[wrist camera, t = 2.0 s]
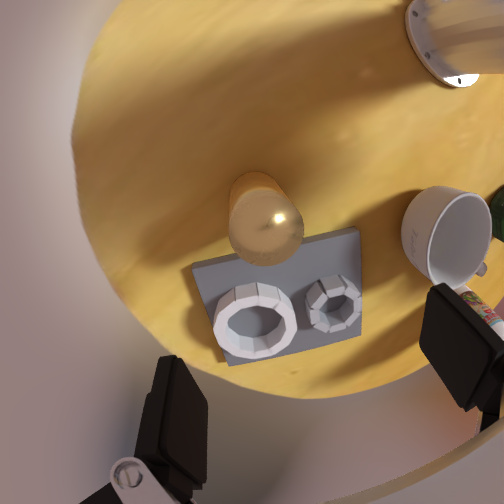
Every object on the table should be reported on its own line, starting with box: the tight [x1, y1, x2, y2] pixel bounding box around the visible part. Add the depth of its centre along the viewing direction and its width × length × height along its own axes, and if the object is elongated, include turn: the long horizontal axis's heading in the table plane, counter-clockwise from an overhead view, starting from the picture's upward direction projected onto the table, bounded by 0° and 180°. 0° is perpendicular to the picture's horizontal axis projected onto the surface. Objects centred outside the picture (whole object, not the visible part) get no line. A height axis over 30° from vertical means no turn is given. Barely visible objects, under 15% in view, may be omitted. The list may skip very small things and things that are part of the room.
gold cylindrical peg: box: [229, 172, 304, 266], centre depth 23 cm, size 5×5×10 cm
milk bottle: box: [454, 284, 504, 341], centre depth 27 cm, size 8×8×20 cm
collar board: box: [191, 227, 362, 366], centre depth 31 cm, size 15×18×4 cm
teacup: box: [401, 186, 492, 290], centre depth 27 cm, size 14×11×8 cm
